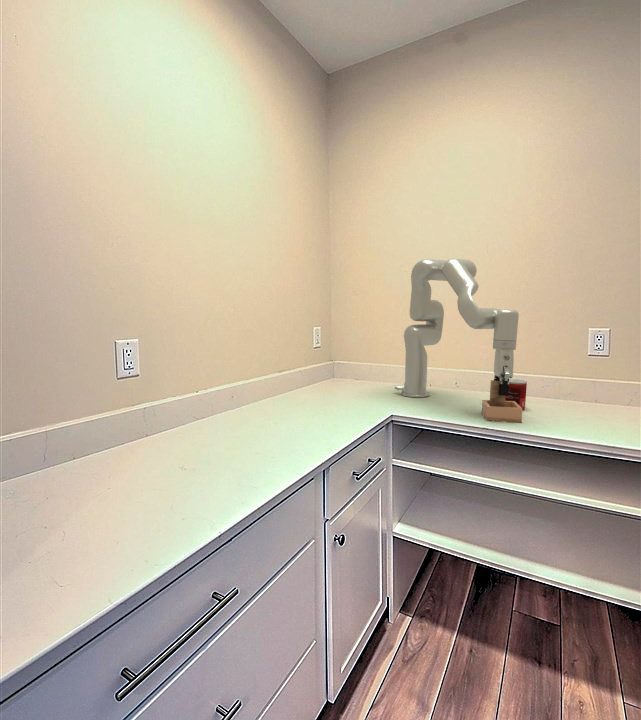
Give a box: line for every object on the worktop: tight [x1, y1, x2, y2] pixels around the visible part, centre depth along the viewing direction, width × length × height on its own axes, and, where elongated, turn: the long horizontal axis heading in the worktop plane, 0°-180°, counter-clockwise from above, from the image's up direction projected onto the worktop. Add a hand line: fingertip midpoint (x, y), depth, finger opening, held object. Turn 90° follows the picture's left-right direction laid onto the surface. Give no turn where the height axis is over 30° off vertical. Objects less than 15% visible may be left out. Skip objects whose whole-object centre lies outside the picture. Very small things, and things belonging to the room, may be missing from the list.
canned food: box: [505, 378, 528, 411], centre depth 165 cm, size 8×8×11 cm
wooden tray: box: [481, 399, 523, 424], centre depth 152 cm, size 11×11×5 cm
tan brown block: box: [489, 379, 505, 407], centre depth 151 cm, size 4×3×12 cm, turn 78°
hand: (500, 392), depth 152 cm, fingers open, 9 cm apart
